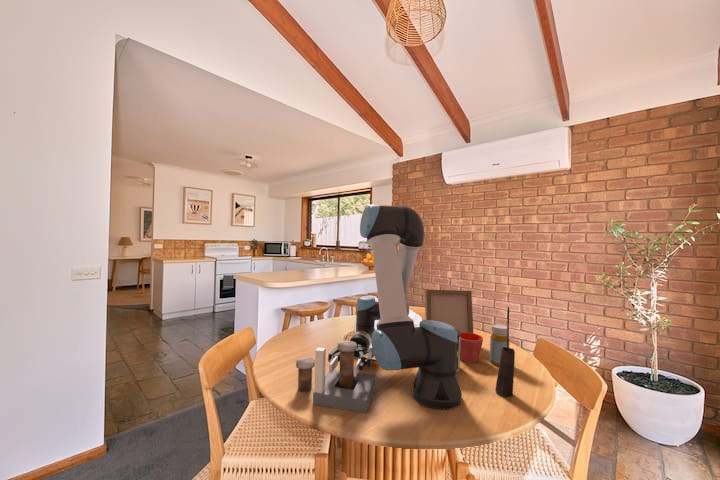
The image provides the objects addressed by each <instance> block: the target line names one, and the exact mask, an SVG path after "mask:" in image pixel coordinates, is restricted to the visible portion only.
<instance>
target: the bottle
mask: <svg viewBox="0 0 720 480" xmlns="http://www.w3.org/2000/svg"><path fill="white" fill-rule="evenodd" d="M489 337H490V340H489V341H490V344H489V346H490V347H489V361H490V362H491V363H492V364H493V365H495V366H497V367H499V363H500V357H501V350H502V347H507V325H504V324H498V323H497V324H496V323H495V324H492V325H491V334H490V336H489ZM508 343H509V344H510V341H509V342H508Z"/></svg>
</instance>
